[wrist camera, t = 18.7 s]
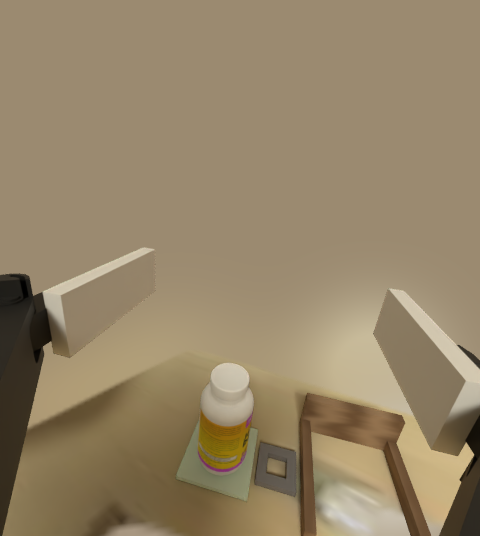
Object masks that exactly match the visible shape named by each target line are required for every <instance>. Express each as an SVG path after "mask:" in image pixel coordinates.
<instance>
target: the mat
mask: <svg viewBox="0 0 480 536" xmlns="http://www.w3.org/2000/svg"><path fill="white" fill-rule="evenodd" d="M198 430H199V420H198V423H197V425H196V428H195V430H194V433H193V435H192V437H191V440H190V442H189V445H188V447H187V450H186V452H185V454H184V457H183V459H182V462H181V464H180V467H179V469H178V472H177V474H176V479H177V480H180V481H184V482H187V483H190V484H193V485H196V486H199V487H203V488H206V489H209V490H212V491H215V492H218V493H221V494H225V495H228V496H231V497H234V498H237V499H240V500H244V501H247V498H248V492H249V486H250V479H251V473H252V466H253V460H254V453H255V447H256V441H257V434H258V429H255V428H251V427H250V433H249V439H248V446H247V452H246V457H245V460H244V462H243V464H242V465H241V466H240V468H239V469H238V470H236V471H235V472H233V473H231V474H229V475H223V476H219V475H215V474H212V473H210V472H208V471H207V470H206V469H205V468H204V467H203V466H202V464H201V463H200V461H199V458H198V453H197V444H198Z"/></svg>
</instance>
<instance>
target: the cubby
mask: <svg viewBox="0 0 480 536" xmlns="http://www.w3.org/2000/svg"><path fill="white" fill-rule="evenodd" d="M404 424H405V421H404V419H403V417H402V415H398V414H393V413H389V412H385V411H381V410H377V409H372V408H368V407H364V406H360V405H356V404H352V403H347V402H343V401H339V400H335V399H331V398H326V397H322V396H318V395H314V394H310V393H307V395H306V399H305V403H304V407H303V411H302V415H301V419H300V478H301V536H316V516H315V498H314V479H313V461H312V443H311V432H315V433H319V434H323V435H327V436H331V437H334V438H338V439H342V440H346V441H350V442H354V443H357V444H361V445H365V446H369V447H373V448H376V449H380V450H383V451H384V454H385V457H386V460H387V463H388V466H389V470H390V473H391V476H392V479H393V482H394V485H395V488H396V491H397V495H398V498H399V501H400V504H401V507H402V510H403V513H404V516H405V520H406V523H407V526H408V529H409V532H410V535H411V536H431V534H430V531H429V529H428V526H427V523H426V521H425V518H424V515H423V513H422V510H421V507H420V505H419V502H418V499H417V497H416V494H415V491H414V489H413V486H412V483H411V481H410V478H409V476H408V473H407V470H406V468H405V465H404V462H403V460H402V457H401V454H400V452H399V449H398V446H397V444H396V442H397V440H398V438H399V436H400V433H401V431H402V429H403V427H404Z"/></svg>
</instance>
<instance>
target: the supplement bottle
mask: <svg viewBox="0 0 480 536" xmlns="http://www.w3.org/2000/svg"><path fill="white" fill-rule="evenodd" d="M249 380H250V378H249V374H248V372H247V371H246V370H245V369H244V368H243V367H242V366H240V365H237V364H234V363H223V364H220V365H218V366H216V367H215V368H214V369H213V370H212V372H211V377H210V382H209V383H208V384H207V385H206V387H205V388H204V390H203V392H202V395H201V400H200V416H199V430H198V444H197V453H198V458H199V461H200V463H201V464H202V466H203V467H204V468H205V469H206V470H207V471H208V472H210V473H212V474H215V475H219V476H223V475H229V474H231V473H233V472H235V471H236V470H238V469H239V468H240V466H241V465H242V464H243V462H244V460H245V457H246V452H247V446H248V439H249V433H250V427H251V420H252V413H253V407H254V397H253V394H252V391H251V390H250V388H249Z"/></svg>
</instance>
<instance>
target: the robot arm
mask: <svg viewBox="0 0 480 536" xmlns="http://www.w3.org/2000/svg"><path fill="white" fill-rule="evenodd" d="M154 292H155V250H154V249H149V248H141V249H139V250H137V251H134V252H132V253H130V254H127V255H125V256H123V257H121V258H118V259H116V260H114V261H111V262H109V263H107V264H105V265H102V266H100V267H98V268H95V269H93V270H91V271H89V272H86V273H84V274H82V275H80V276H77V277H75V278H73V279H70V280H68V281H66V282H63V283H61V284H59V285H57V286H54V287H52V288H50V289H47V290H45V291H43V292H42V293H39V294H37V295H35V296H33V294H32V289H31V284H30V278H29V276H27V275H25V274H6V275H0V536H2V534H3V530H4V525H5V521H6V517H7V512H8V508H9V504H10V500H11V495H12V491H13V487H14V482H15V478H16V474H17V469H18V465H19V461H20V457H21V452H22V448H23V444H24V439H25V435H26V431H27V426H28V422H29V418H30V414H31V409H32V405H33V401H34V396H35V392H36V388H37V383H38V379H39V375H40V370H41V366H42V362H43V357H44V351H43V346H44V345H46V344H47V343H49V342H50V341H51V342H52V347H53V353H54V354H57V355H61V356H65V357H69V358H70V357H72V356H73V355H74V354H76V353H77V352H78V351H79V350H81V349H82V348H83V347H84V346H86V345H87V344H88V343H90V342H91V341H92V340H93V339H95V338H96V337H97V336H98V335H100V334H101V333H102V332H103V331H105V330H106V329H107V328H109V327H110V326H111V325H113V324H114V323H115V322H116V321H118V320H119V319H120V318H122V317H123V316H124V315H125V314H127V313H128V312H129V311H131V310H132V309H133V308H134V307H135V306H137V305H138V304H139V303H141V302H142V301H143V300H144V299H146V298H147V297H148V296H150V295H151V294H152V293H154ZM373 334H374V336H375V338H376V340H377V342H378V344H379V346H380V348H381V350H382V352H383V354H384V356H385V358H386V360H387V362H388V364H389V366H390V368H391V370H392V372H393V374H394V376H395V378H396V380H397V382H398V384H399V386H400V388H401V390H402V392H403V394H404V396H405V398H406V400H407V402H408V404H409V406H410V408H411V410H412V412H413V414H414V416H415V418H416V420H417V422H418V424H419V426H420V428H421V430H422V432H423V434H424V436H425V438H426V440H427V442H428V444H429V446H430V448H431V449H432V450H435V451H439V452H443V453H447V454H451V455H455V456H458V455H459V453H460V452H461V450H462V448H463V446H464V445H465V443H466V442H467V444H468V445H469V447H470V449H471V450H472V452H473V453H474V457H473V458H472V460H471V462H470V463H469V465H468V467H467V468H466V470H465V472H464V473H463V475H462V477H461V478H460V481H461V485H460V487H459V490H458V492H457V494H456V497H455V499H454V502H453V504H452V506H451V509H450V511H449V513H448V516H447V518H446V521H445V523H444V525H443V528H442V530H441V533H440V535H439V536H480V360H479V359H477V357H476V356H474V355H473V354H472V353H470V352H469V351H467V350H466V349H464V348H463V347H461V346H460V345H456V344H455V343H454V342H453V341H452V340H451V339H450V338H449V337H448V336H447V335H446V334H445V333H444V332H443V331H442V330H441V329H440V328H439V327H438V326H437V325H436V324H435V322H434V321H433V320H432V319H431V318H430V317H429V316H428V315H427V314H426V313H425V312H424V311H423V310H422V309H421V308H420V307H419V306H418V305H417V304H416V303H415V302H414V301H413V300H412V299H411V298H410V297H409V296H408V294H407V293H406V292H405V291H402V290H395V289H390V288H388V290H387V294H386V296H385V300H384V302H383V306H382V308H381V312H380V315H379V318H378V321H377V324H376V327H375V330H374V333H373Z"/></svg>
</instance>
